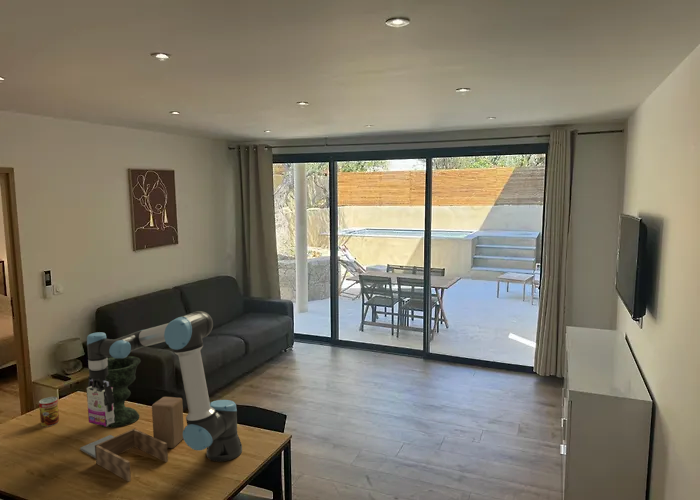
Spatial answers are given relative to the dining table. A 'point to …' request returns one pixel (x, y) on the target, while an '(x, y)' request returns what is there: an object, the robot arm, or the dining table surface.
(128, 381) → the goblet
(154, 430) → the wooden block
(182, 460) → the dining table surface
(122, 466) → the brown u-shaped piece
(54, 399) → the canned food
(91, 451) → the slate mat
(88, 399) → the candy bar box
